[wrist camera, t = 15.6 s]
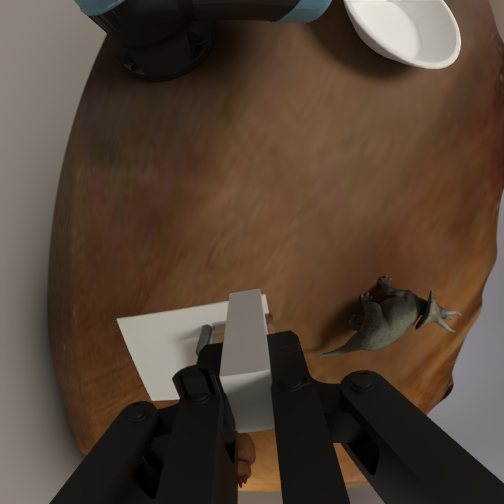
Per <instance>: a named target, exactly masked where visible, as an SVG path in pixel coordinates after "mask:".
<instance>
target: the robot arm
mask: <svg viewBox="0 0 504 504" xmlns="http://www.w3.org/2000/svg"><path fill="white" fill-rule="evenodd" d="M74 1H75V2H76V3H77V4H78V5H79V6H80V9H81V11H82V12H83V13H84V14H86V15H87V16H88V17H89V18H91V19H92V20H93V21H94V22H95V23H96V24H97V25H99V26H100V27H101V28H102V29H103V30H104V31H105V32H106V33H107V34H108V35H109V36H110V37H111V38H113V39H114V40H115V44H116V49H117V54H118V57H119V60H120V62H121V63H122V65H123V66H124V67H125V68H126V69H127V70H128V71H129V72H130V73H131V74H133V75H134V76H136V77H138V78H140V79H143V80H147V81H166V80H171V79H174V78H177V77H180V76H182V75H184V74H186V73H188V72H190V71H191V70H193V69H194V68H196V67H197V66H198V65H199V64H200V63H201V62H202V61H203V60H204V59H205V58H206V57H207V55H208V54H209V52H210V51H211V49H212V47H213V44H214V40H215V27H214V22H213V20H260V21H270V22H271V23H280V22H293V23H308V22H311V21H313V20H316V19H317V18H319V17H320V16H321V15H322V14H323V13H324V12H325V11H326V9H327V8H328V6H329V5H330V3H331V1H332V0H74ZM172 381H173V383H174V386H175V388H176V390H177V393H178V395H179V398H180V400H179V403H177V404H175V405H173V406H170V407H166V408H162V409H158V410H157V408H156V407H155V406H154V405H153V403H150V402H147V401H139V402H135V403H132V404H130V405H128V406H126V407H125V408H124V409H123V410H122V411H121V412H120V414H119V415H118V416H117V418H116V419H115V420H114V421H113V423H112V424H111V425H110V427H109V428H108V429H107V430H106V432H105V433H104V434H103V435H102V437H101V438H100V439H99V441H98V442H97V443H96V444H95V446H94V447H93V448H92V450H91V451H90V452H89V453H88V455H87V456H86V457H85V458H84V460H83V461H82V462H81V464H80V465H79V466H78V467H77V469H76V470H75V471H74V473H73V474H72V475H71V477H70V478H69V479H68V480H67V482H66V483H65V484H64V486H63V487H62V488H61V489H60V491H59V492H58V493H57V495H56V496H55V497H54V498H53V500H52V501H51V502H50V504H238V503H237V502H238V442H237V439H236V436H235V426H236V429H237V432H238V433H246V432H255V431H263V430H270V429H275V433H276V443H277V452H278V461H279V471H280V480H281V490H282V498H283V504H350V501H349V497H348V494H347V490H346V487H345V483H344V480H343V476H342V473H341V469H340V466H339V462H338V459H337V455H336V452H335V448H334V445H333V443H341V445H342V446H343V448H344V449H345V451H346V452H347V453H348V455H349V456H350V457H351V459H352V460H353V462H354V463H355V464H356V466H357V467H358V468H359V470H360V471H361V472H362V474H363V475H364V476H365V478H366V479H367V480H368V482H369V483H370V484H371V486H372V487H373V488H374V490H375V491H376V492H377V494H378V495H379V496H380V498H381V499H382V500H383V501H384V503H385V504H504V483H503V482H502V481H501V480H499V479H498V478H497V477H496V476H495V475H493V474H492V473H491V472H490V471H489V470H488V469H487V468H486V467H484V466H483V465H482V464H481V463H480V462H479V461H477V460H476V459H475V458H474V457H473V456H472V455H470V454H469V453H468V452H467V451H466V450H465V449H464V448H462V447H461V446H460V445H459V444H458V443H457V442H456V441H454V440H453V439H452V438H451V437H450V436H449V435H448V434H446V433H445V432H444V431H443V430H442V429H441V428H440V427H439V426H437V425H436V424H435V423H434V422H433V421H432V420H431V419H430V418H428V417H427V416H426V415H425V414H424V413H423V412H422V411H420V410H419V409H418V408H417V407H416V406H415V405H414V404H413V403H411V402H410V401H409V400H408V399H407V398H406V397H405V396H403V395H402V394H401V393H400V392H399V391H398V390H397V389H396V388H394V387H393V386H392V385H391V384H390V383H389V382H388V381H387V380H385V379H384V378H383V377H382V376H381V375H379V374H378V373H376V372H373V371H368V370H361V371H356V372H352V373H350V374H349V375H347V376H345V377H344V379H343V380H342V381H341V384H328V383H322V382H319V381H317V380H315V379H313V378H312V377H311V375H310V374H309V371H308V368H307V364H306V361H305V358H304V355H303V351H302V348H301V345H300V342H299V338H298V336H297V335H296V334H295V333H293V332H292V331H291V330H290V331H285V332H279V333H273V334H268V331H267V325H266V320H265V314H264V309H263V303H262V298H261V292H260V289H254V290H248V291H242V292H236V293H230V295H229V303H228V311H227V319H226V327H225V335H224V342H221V343H214V344H206V345H205V346H204V347H203V348H202V349H201V350H200V352H199V355H198V359H197V363H196V365H192V366H187V367H185V368H183V369H181V370H179V371H178V372H177V373H175V375H174V376H173V378H172Z"/></svg>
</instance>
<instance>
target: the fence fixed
mask: <svg viewBox="0 0 504 504" xmlns="http://www.w3.org/2000/svg"><path fill="white" fill-rule="evenodd" d="M265 320H266V325H267V331H268V334H273V333H275V329H274V323H273V318H272V315H271V314H270V313H269V314H265ZM225 327H226V323H224V324H218V325H215V330H214V335H213V340H212V344H214V343H221V342H224V335H225ZM211 332H212V327H211V326H210V325H208V324H206V325H203V327H202V330H201V334H200V337H199V341H198V344H197V348H196V355H197V356H198V355H199V352H200V350H201V349H202V348H203V347H204V346H205V345H206V344H209V342H210V337H211Z"/></svg>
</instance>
